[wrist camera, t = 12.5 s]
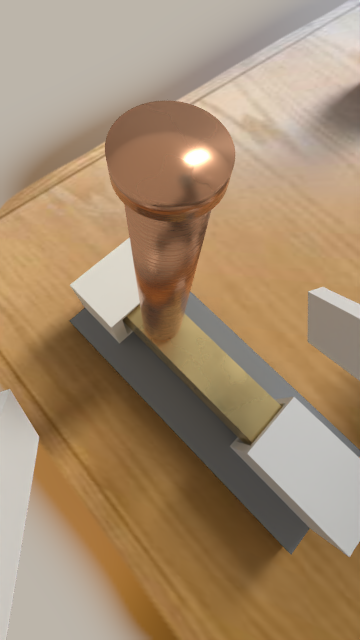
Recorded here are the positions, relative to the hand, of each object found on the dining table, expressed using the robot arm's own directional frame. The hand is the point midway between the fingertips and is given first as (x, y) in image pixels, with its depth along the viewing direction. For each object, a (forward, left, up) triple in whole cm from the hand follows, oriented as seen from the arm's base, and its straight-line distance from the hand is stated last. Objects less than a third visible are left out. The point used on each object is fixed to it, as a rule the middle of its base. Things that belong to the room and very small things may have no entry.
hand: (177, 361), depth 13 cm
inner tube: (-3, +1, -13) cm, 13 cm away
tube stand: (-2, +3, -15) cm, 16 cm away
